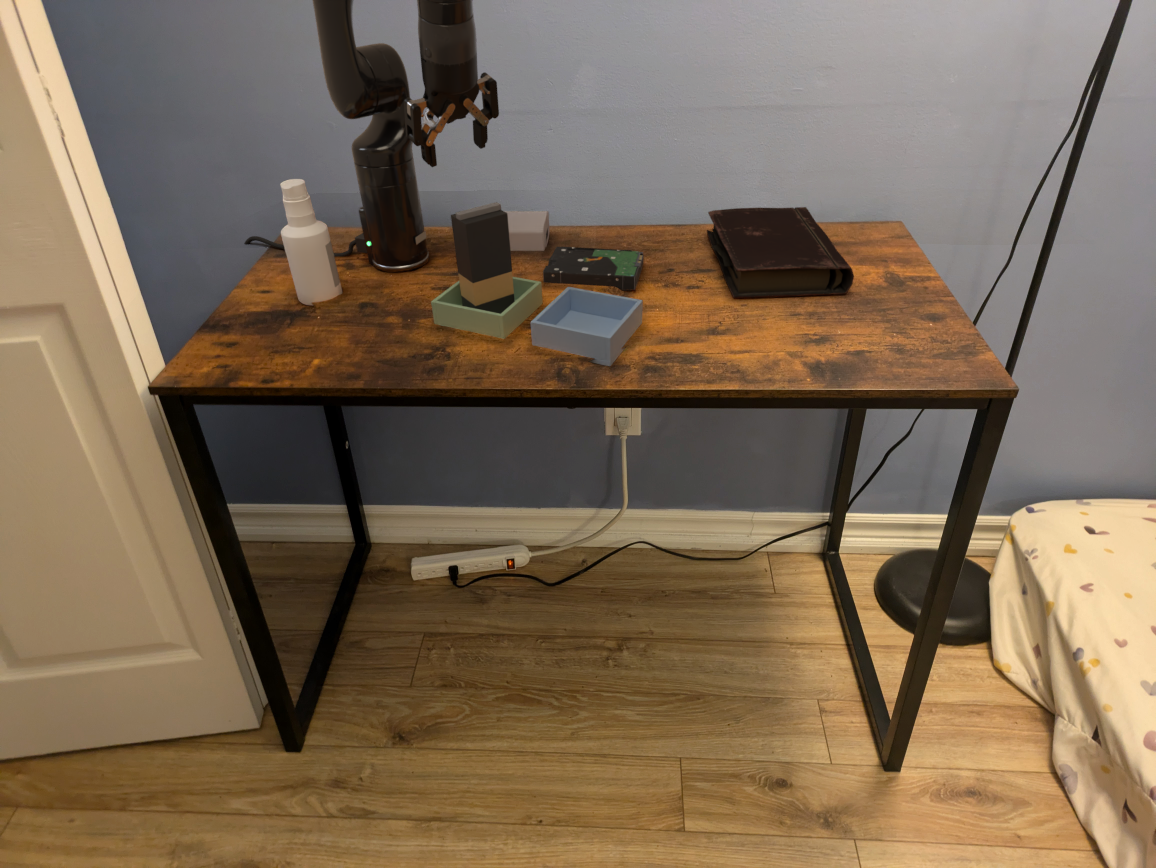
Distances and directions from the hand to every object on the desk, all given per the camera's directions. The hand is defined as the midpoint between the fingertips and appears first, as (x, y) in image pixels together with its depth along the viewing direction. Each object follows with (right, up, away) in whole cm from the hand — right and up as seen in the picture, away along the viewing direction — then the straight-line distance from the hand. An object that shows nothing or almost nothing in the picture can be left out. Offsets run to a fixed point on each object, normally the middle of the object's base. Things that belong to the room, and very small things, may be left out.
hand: (455, 154), depth 114 cm
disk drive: (+21, -16, +9) cm, 28 cm away
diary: (+50, -14, +11) cm, 53 cm away
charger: (+6, -8, +21) cm, 23 cm away
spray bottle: (-22, -20, +6) cm, 31 cm away
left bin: (+5, -25, -1) cm, 25 cm away
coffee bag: (+5, -24, -2) cm, 25 cm away
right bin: (+20, -28, -7) cm, 35 cm away
